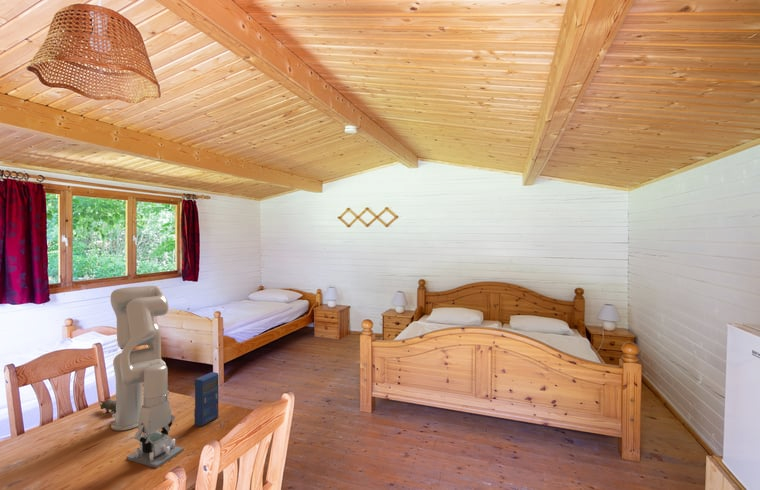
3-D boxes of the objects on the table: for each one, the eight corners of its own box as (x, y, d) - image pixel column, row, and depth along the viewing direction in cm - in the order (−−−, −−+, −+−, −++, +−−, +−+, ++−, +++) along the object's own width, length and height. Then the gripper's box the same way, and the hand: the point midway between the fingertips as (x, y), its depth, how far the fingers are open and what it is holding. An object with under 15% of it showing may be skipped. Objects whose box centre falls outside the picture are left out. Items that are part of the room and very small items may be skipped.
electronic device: (202, 427, 151) (202, 380, 151) (193, 424, 153) (193, 378, 153) (219, 417, 160) (219, 373, 160) (211, 415, 162) (211, 371, 161)
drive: (140, 450, 130) (140, 437, 130) (156, 441, 136) (156, 430, 136) (154, 456, 126) (154, 444, 126) (171, 448, 132) (171, 436, 132)
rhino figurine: (105, 407, 168) (105, 395, 168) (124, 412, 164) (124, 399, 164) (95, 411, 165) (95, 398, 165) (115, 416, 160) (115, 403, 160)
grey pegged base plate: (126, 459, 128) (126, 448, 128) (154, 443, 139) (154, 433, 139) (156, 468, 123) (156, 456, 123) (183, 450, 134) (183, 440, 134)
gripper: (168, 388, 140) (168, 433, 141) (125, 407, 124) (124, 458, 124) (183, 391, 138) (183, 436, 138) (140, 411, 122) (140, 462, 122)
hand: (155, 446), depth 131 cm, fingers closed on drive, 6 cm apart
